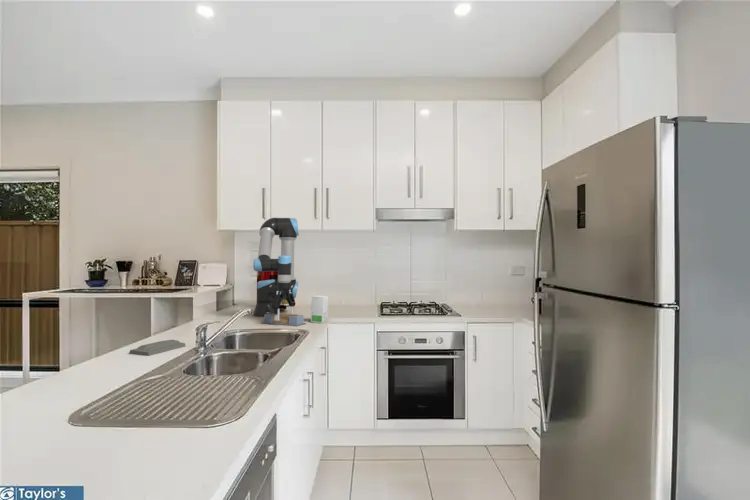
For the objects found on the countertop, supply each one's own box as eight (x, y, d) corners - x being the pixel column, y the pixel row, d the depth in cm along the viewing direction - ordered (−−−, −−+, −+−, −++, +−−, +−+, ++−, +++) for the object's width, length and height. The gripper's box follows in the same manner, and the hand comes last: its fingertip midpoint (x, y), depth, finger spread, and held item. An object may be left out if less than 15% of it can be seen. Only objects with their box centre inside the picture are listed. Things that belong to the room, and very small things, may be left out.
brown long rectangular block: (274, 321, 263) (274, 312, 263) (297, 323, 256) (297, 314, 256) (270, 322, 259) (270, 313, 259) (294, 324, 253) (294, 315, 253)
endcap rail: (271, 321, 267) (271, 312, 268) (306, 323, 258) (306, 315, 258) (261, 323, 258) (261, 314, 258) (296, 326, 249) (296, 317, 249)
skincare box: (310, 322, 265) (310, 296, 265) (316, 321, 271) (316, 295, 271) (323, 323, 261) (323, 296, 262) (328, 321, 268) (328, 295, 268)
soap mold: (128, 355, 174) (128, 346, 174) (167, 346, 193) (167, 337, 193) (148, 357, 170) (149, 348, 170) (186, 347, 189) (186, 339, 189)
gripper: (291, 281, 272) (290, 316, 271) (265, 282, 249) (265, 321, 248) (301, 281, 269) (301, 316, 268) (276, 283, 246) (276, 322, 245)
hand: (283, 319), depth 258 cm, fingers open, 13 cm apart
